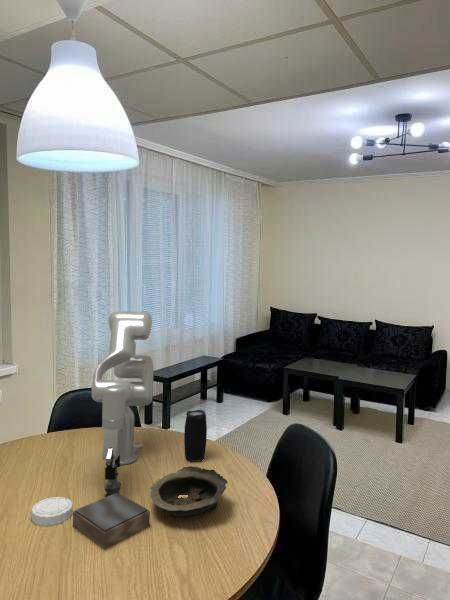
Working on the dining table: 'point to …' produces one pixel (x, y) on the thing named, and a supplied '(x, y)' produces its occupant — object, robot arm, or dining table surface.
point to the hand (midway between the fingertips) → (112, 472)
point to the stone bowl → (188, 491)
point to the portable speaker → (195, 435)
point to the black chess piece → (112, 485)
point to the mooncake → (52, 511)
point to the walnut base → (111, 519)
